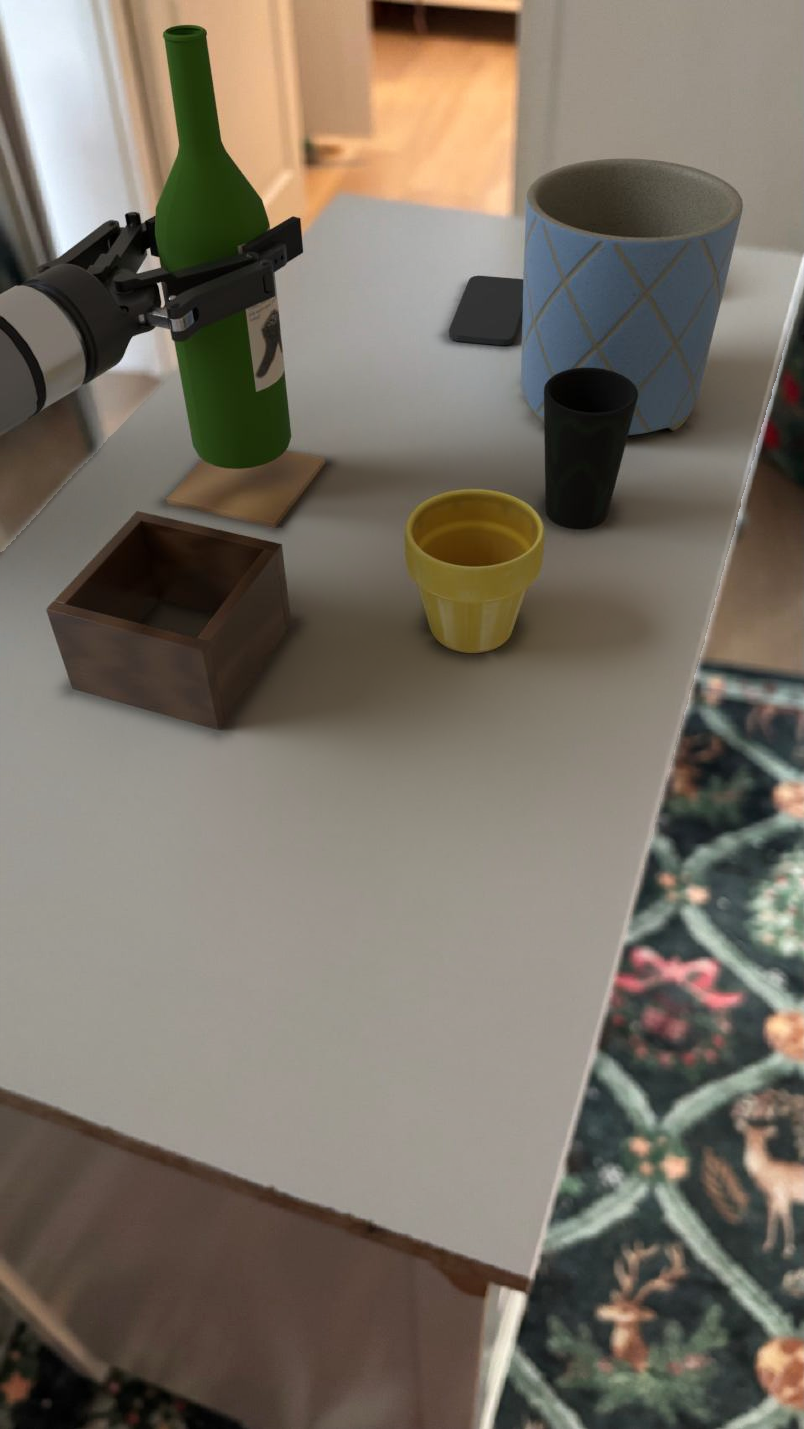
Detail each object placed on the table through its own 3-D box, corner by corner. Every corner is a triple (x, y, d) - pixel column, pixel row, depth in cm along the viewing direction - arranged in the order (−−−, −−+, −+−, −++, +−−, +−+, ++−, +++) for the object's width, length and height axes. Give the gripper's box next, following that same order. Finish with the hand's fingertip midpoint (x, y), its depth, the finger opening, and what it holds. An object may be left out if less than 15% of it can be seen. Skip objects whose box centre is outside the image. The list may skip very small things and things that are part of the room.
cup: (618, 540, 94) (637, 417, 85) (530, 533, 95) (541, 411, 86) (620, 490, 99) (638, 369, 91) (537, 483, 100) (547, 364, 92)
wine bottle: (274, 475, 94) (223, 52, 71) (178, 463, 96) (97, 45, 72) (304, 422, 100) (266, 15, 77) (213, 412, 102) (149, 10, 78)
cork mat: (167, 503, 99) (166, 498, 99) (223, 442, 106) (222, 437, 106) (275, 528, 96) (275, 522, 96) (325, 463, 103) (325, 457, 103)
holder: (71, 689, 82) (45, 609, 77) (155, 589, 90) (136, 510, 85) (218, 730, 79) (202, 650, 73) (291, 623, 87) (282, 543, 81)
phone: (446, 334, 119) (470, 274, 129) (446, 341, 119) (470, 281, 129) (513, 340, 118) (532, 279, 128) (512, 347, 118) (531, 286, 128)
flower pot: (441, 571, 91) (442, 473, 84) (555, 606, 88) (566, 507, 81) (383, 645, 85) (379, 545, 78) (503, 686, 82) (511, 586, 75)
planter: (522, 452, 104) (537, 243, 90) (506, 355, 117) (517, 160, 103) (720, 447, 104) (767, 238, 89) (681, 351, 117) (717, 155, 103)
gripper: (-41, 350, 81) (156, 242, 94) (180, 427, 73) (363, 297, 86) (-75, 250, 76) (140, 150, 89) (160, 321, 68) (358, 200, 81)
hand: (249, 222), depth 88 cm, fingers closed on wine bottle, 9 cm apart
